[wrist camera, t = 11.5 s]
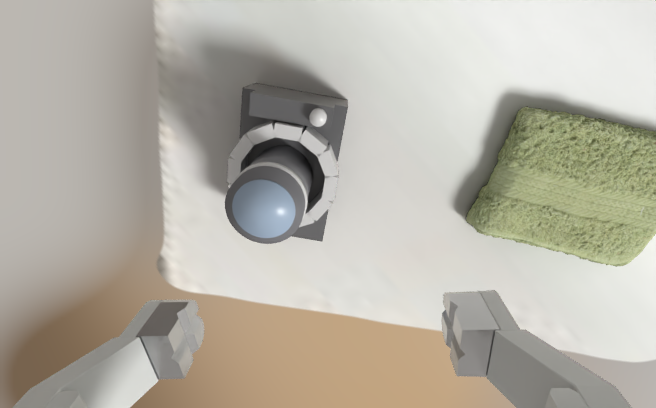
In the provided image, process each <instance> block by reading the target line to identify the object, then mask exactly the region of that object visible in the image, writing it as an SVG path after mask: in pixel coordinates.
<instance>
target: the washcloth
mask: <svg viewBox="0 0 656 408" xmlns="http://www.w3.org/2000/svg"><path fill="white" fill-rule="evenodd" d="M497 158H498V163H497V165H496V166H495V168H494V171H493V173H492V174H491V177H490V180H489V182H488V184H487V185H486V186H483V187H482V189H481V191H479V193H478V194H479V196H478V197H479V198H477V199H476V201H475V203H474V204H473V205H472V208H471V209H470V210H469V212H468V214H467V219H466V221H467V223H469V224H471V225H472V226H474V228H475V229H476V230H477V232H479V233H481V234H484V235H486V236H489V235H491V236H493V237H495V238H499V237H501V238H503V239H509V240H514V241H516V242H519V243H525V244H529V245H531V246H533V245H534V246H536V247H544V248H547V249H549V250H553V251H557V252H559V251H562V252H564V253H565V254H567V255H568V254H572V255H576V256H578V257H580V259H581V258H582V259H588V260H589V261H592V262H597V263H601V264H603V263H605V264H606V265H609V264H610V265H614V266H616V267H617V266H623V265H626V264H628V263H630V262H631V261H632V260H633V259H634V258H635V257H636V256H638V255H639V254H640V253H641V252H642V250H643V249H644V248H645V246H646V245H647V244H648V242H649V241H650V240H651V239H652V238H653V236H654V235H655V234H656V132H654V131H647V130H646V129H640V128H633V127H631V126H628V125H627V126H626V125H622V124H619V123H614V122H610V121H609V122H606V121H605V120H603V119H596V118H587V117H585V116H584V115H579V114H577V115H571V114H569V113H566V112H559V113H558V112H557V111H554V112H552V111H547V110H543V109H540V108H539V109H537V108H534V109H533V108H528V106H526V107H524V108H522V109H520V110H519V111H518V113H517V115H516V119H515V122H514V123H513V124H512V127H511V130H510V131H509V134H508V138H507V139H506V140H505V144H504V145H503V147H502V149H501V151H500V152H499V153H498V156H497Z"/></svg>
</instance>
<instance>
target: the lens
mask: <svg viewBox="0 0 656 408" xmlns="http://www.w3.org/2000/svg"><path fill="white" fill-rule="evenodd" d="M312 179H313V173H312V168H311V165H310V163H309V161H308V160H307V158H306V157H305V156H304V155H303V154H302V153H301V152H299V151H298V150H296V149H294V148H292V147H289V146H283V145H278V146H273V147H270V148H267V149H266V150H264V151H263V152H261V153H260V154H259V156H258V157H257V158H256V159H255V160H254V161H253V162H252V163H251V164H250V165H249V166H248V167H247V168H245V169H244V170H243V171H242V172H241V173H240V174H239V175H238V176H237V177H236V178H235V180H234V182H233V184H232V185H231V187H230V188H229V190H228V192H227V195H226V199H225V209H226V214H227V217H228V219H229V221H230V223H231V224H232V226H233V227H234V228H235V230H236V231H237V232H239V233H240V234H241V235H242V236H244V237H246V238H247V239H249V240H252V241H254V242H258V243H264V244H271V243H277V242H281V241H283V240H286V239H287V238H289V237H290V236H292V235H293V234H294V233H295V232H296V231H297V229H298V228H299V226H300V224H301V222H302V220H303V218H304V215H305V213H306V209H307V203H308V196H309V192H310V188H311V184H312Z"/></svg>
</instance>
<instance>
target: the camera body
mask: <svg viewBox="0 0 656 408" xmlns="http://www.w3.org/2000/svg"><path fill="white" fill-rule="evenodd" d="M347 109H348V100H345V99H339V98H334V97H329V96H323V95H318V94H312V93H307V92H302V91H296V90H291V89H285V88H280V87H274V86H269V85H264V84H258V83H255V84H252V85H249V86H246V87H243V91H242V108H241V125H240V141H239V142H238V144H237V145H236V146H235V148H234V149H233V150H232V152H231V153H230V155H229V156H230V157H229V158H228V169H227V183H230V184H229V185H228V188H230V187H231V185H232V184H233V182H234V180H235V178H236V177H237V176H238V175H239V174H240V173H241V172H242V171H243V170H244V169H245V168H247V167H248V166H249V165H250V164H251V163H252V162H253V161H254V160H255V159H256V158H257V157H258V156H259V154H260V153H261V152H263V151H264V150H266V149H267V148H270V147H273V146H278V145H283V146H289V147H292V148H294V149H296V150H298V151H299V152H301V153H302V154H303V155H304V156H305V157H306V158H307V160H308V161H309V163H310V165H311V168H312V173H313V179H312V184H311V188H310V192H309V196H308V203H307V209H306V213H305V215H304V218H303V220H302V222H301V224H300V226H299V228H298V229H297V231H296V232H295V233H294V234H293V235H292V236H293V237H299V238H305V239H311V240H317V241H322V240H323V235H324V229H325V224H326V219H327V214H328V209H329V207H330V206H331V205H332V204H333V201H334V199H335V194H336V188H337V183H338V178H339V166H338V163H337V161H338V156H339V151H340V145H341V140H342V135H343V130H344V124H345V119H346V114H347Z"/></svg>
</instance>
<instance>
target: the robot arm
mask: <svg viewBox="0 0 656 408" xmlns="http://www.w3.org/2000/svg"><path fill="white" fill-rule="evenodd" d="M443 304H444V307H445V309H446V310H445V311H444V312H443V313H442V331H443V336H444V339H445V343H446V345H447V346H449V347H450V348H451V353H450V358H451V361H452V363H453V367H454V370H455V372H456V375H457V376H480V377H481V376H482V377H487V379H488V380H489V381H490V382H491V383H492V384H493V385H494V386H495V387H496V388H497V389H498V390H499V391H500V392H501V393H502V394H503V395H504V396H505V397H506V398H507V399H508V400H509V401H510V402H511V403H512V404H513V405H514V406H515V407H516V408H632V407H631V406H630V404H629V403H628V402H627V400H626V399H625V398H624V397H623V396H622V394H621V393H620V392H619V390H618V389H617V388H616V387H615V386H614V385H612V384H611V383H609V382H607V381H606V380H604V379H603V378H601V377H600V376H598V375H596V374H595V373H593V372H592V371H590V370H589V369H587V368H585V367H584V366H582V365H581V364H579V363H578V362H576V361H574V360H573V359H571V358H570V357H568V356H566V355H565V354H563V353H562V352H560V351H559V350H557V349H555V348H554V347H552V346H551V345H549V344H547V343H546V342H544V341H543V340H541V339H540V338H538V337H536V336H535V335H533V334H532V333H530V332H528V331H527V330H520V328H519V327H518V325H517V323H516V322H515V320H514V319H513V317H512V315H511V314H510V312H509V310H508V309H507V307H506V306H505V304H504V302H503V301H502V299H501V298H500V296H499V294H498V293H497V292H496V291H495V290H492V291H478V292H449V293H445V294H444V298H443ZM197 311H198V306H197V303H196V301H194V300H150V301H148V302H146V304H145V305H144V306H143V307H142V308H141V310H140V311H139V312H138V314H137V315H136V316H135V317H134V319H133V320H132V321H131V322H130V324H129V325H128V326H127V328H126V329H125V330H124V331H123V333H122V334H121V335H120V336H119V338H113V339H111V340H109V341H108V342H106V343H105V344H103V345H101V346H100V347H98V348H96V349H95V350H93V351H91V352H90V353H88V354H87V355H85V356H84V357H82V358H80V359H78V360H77V361H75V362H73V363H72V364H70V365H69V366H67V367H65V368H64V369H62V370H61V371H59V372H57V373H56V374H54V375H52V376H51V377H49V378H47V379H46V380H44V381H42V382H41V383H39V384H38V385H36V386H34V387H33V388H31V389H29V391H28V392H27V393H26V394H25V395H24V396H23V397H22V398H21V399H20V401H18V402H17V404H16V405H15V406H14V407H13V408H130V407H131V406H132V405H133V404H134V403H135V402H136V401H137V400H138V399H139V398H141V396H143V395H144V394H145V393H146V392H147V391H148V390H149V389H150V388H151V387H152V386H153V385H154V384H156V383H157V382H158V379H181V378H185V376H186V374H187V372H188V370H189V368H190V366H191V364H192V362H193V357H192V353H194V352H195V351H196V350H198V349H199V347H200V345H201V343H202V341H203V336H204V324H203V321H202V319H201V318H200V317H199V316H197V315H196V313H197Z"/></svg>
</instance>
